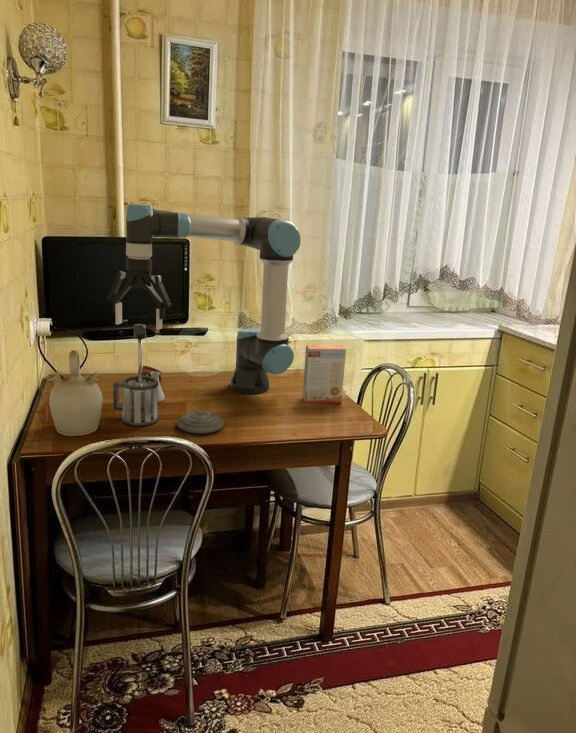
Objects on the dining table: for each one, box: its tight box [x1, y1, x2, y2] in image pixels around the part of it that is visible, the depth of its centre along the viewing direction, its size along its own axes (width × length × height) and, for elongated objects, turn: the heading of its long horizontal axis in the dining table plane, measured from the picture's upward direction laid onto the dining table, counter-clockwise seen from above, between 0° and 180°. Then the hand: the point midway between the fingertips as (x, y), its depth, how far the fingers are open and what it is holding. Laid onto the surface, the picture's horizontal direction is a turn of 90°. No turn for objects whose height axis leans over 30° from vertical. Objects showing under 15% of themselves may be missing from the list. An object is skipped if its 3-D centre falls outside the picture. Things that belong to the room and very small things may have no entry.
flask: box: [150, 372, 166, 403], centre depth 213 cm, size 7×7×10 cm
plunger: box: [128, 323, 152, 393], centre depth 190 cm, size 8×8×21 cm
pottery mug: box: [136, 365, 162, 384], centre depth 229 cm, size 12×10×8 cm
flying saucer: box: [176, 410, 225, 435], centre depth 193 cm, size 15×15×6 cm
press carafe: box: [112, 375, 159, 428], centre depth 195 cm, size 15×12×13 cm
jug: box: [48, 350, 104, 437], centre depth 182 cm, size 15×16×25 cm
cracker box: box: [302, 344, 347, 404], centre depth 223 cm, size 14×6×21 cm, turn 99°
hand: (138, 326), depth 187 cm, fingers open, 13 cm apart
